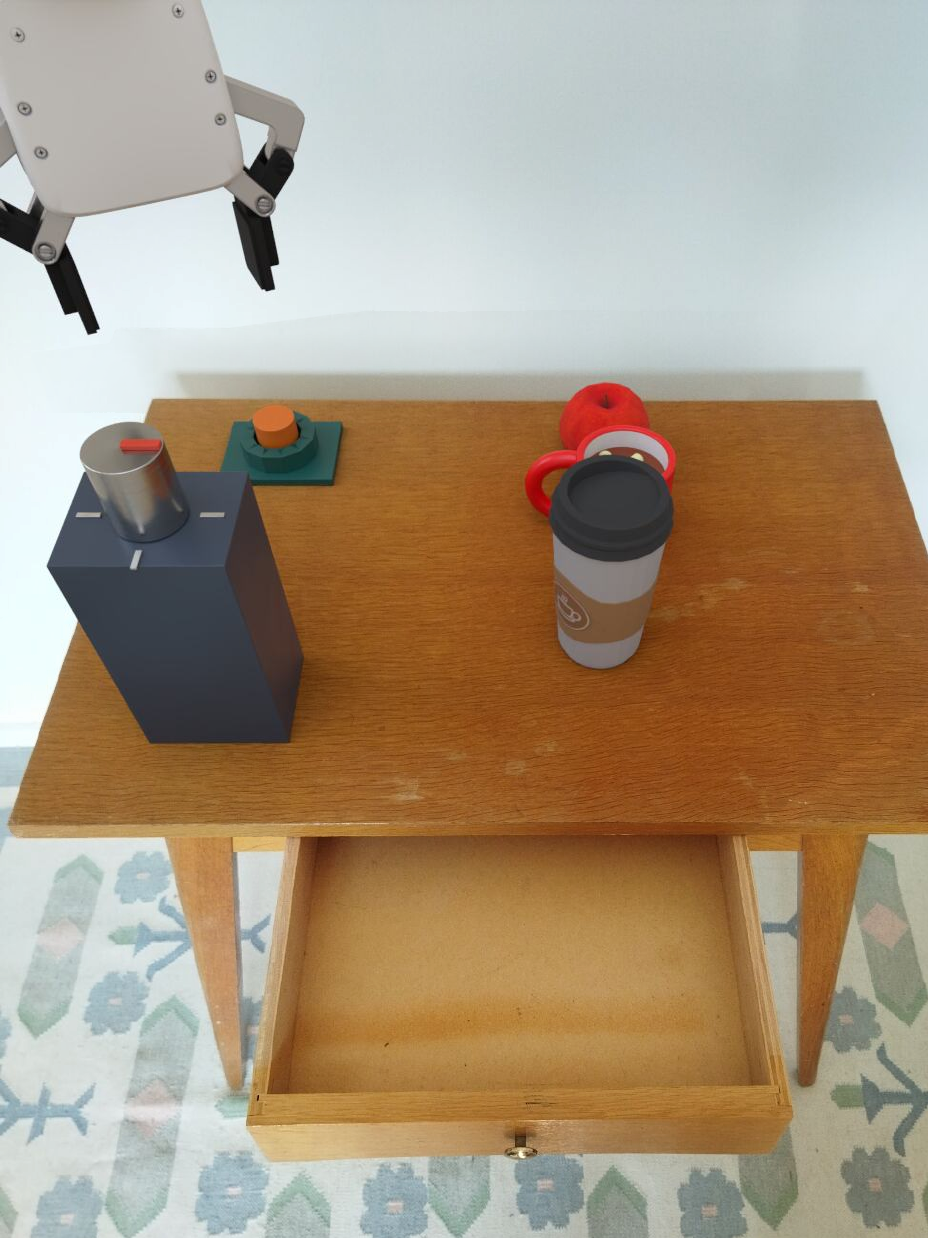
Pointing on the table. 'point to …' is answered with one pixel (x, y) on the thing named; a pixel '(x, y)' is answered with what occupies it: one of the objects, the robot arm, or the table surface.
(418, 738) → the table surface
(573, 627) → the coffee cup
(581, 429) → the apple
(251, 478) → the push button base
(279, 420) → the button
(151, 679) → the tall knob tower
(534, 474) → the mug
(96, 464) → the dial
